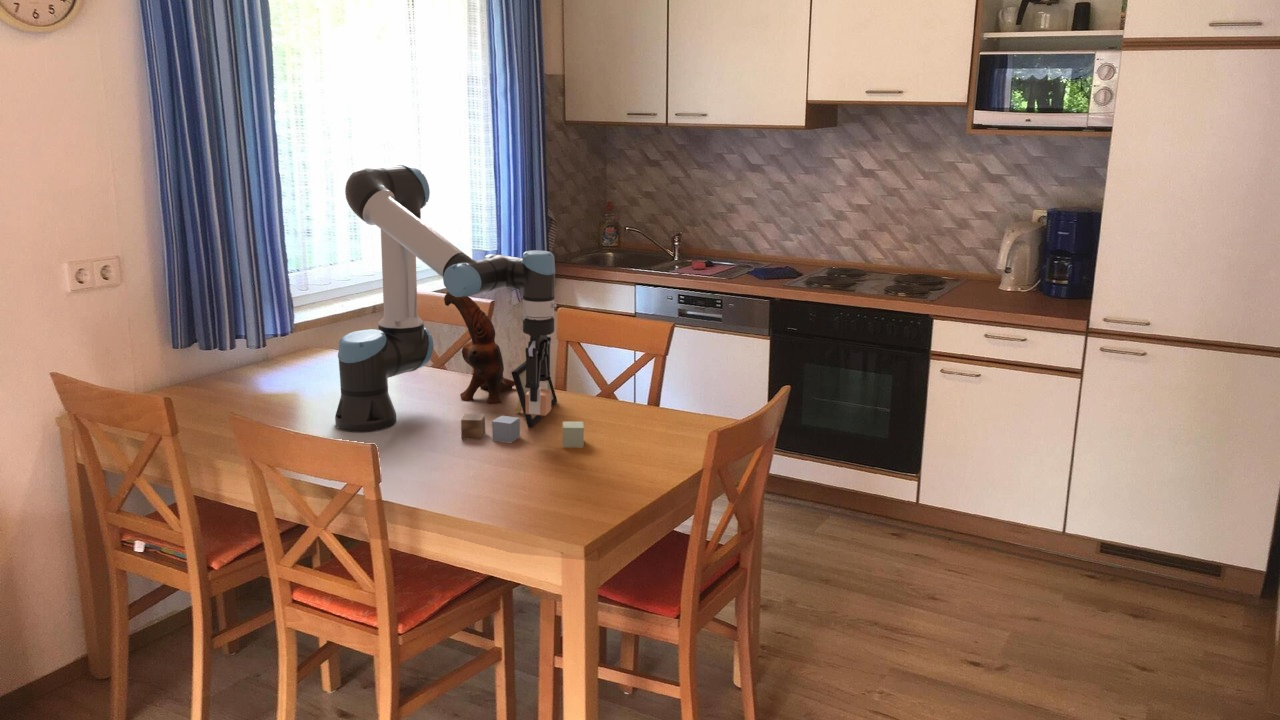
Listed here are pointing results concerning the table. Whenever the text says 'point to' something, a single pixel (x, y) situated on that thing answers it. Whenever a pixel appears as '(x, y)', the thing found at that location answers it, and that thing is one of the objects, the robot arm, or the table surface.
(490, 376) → the sculpture
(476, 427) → the walnut block
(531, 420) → the picture frame
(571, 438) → the sage block
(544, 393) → the terracotta block
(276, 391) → the table surface
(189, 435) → the table surface
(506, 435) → the slate block
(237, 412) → the table surface
